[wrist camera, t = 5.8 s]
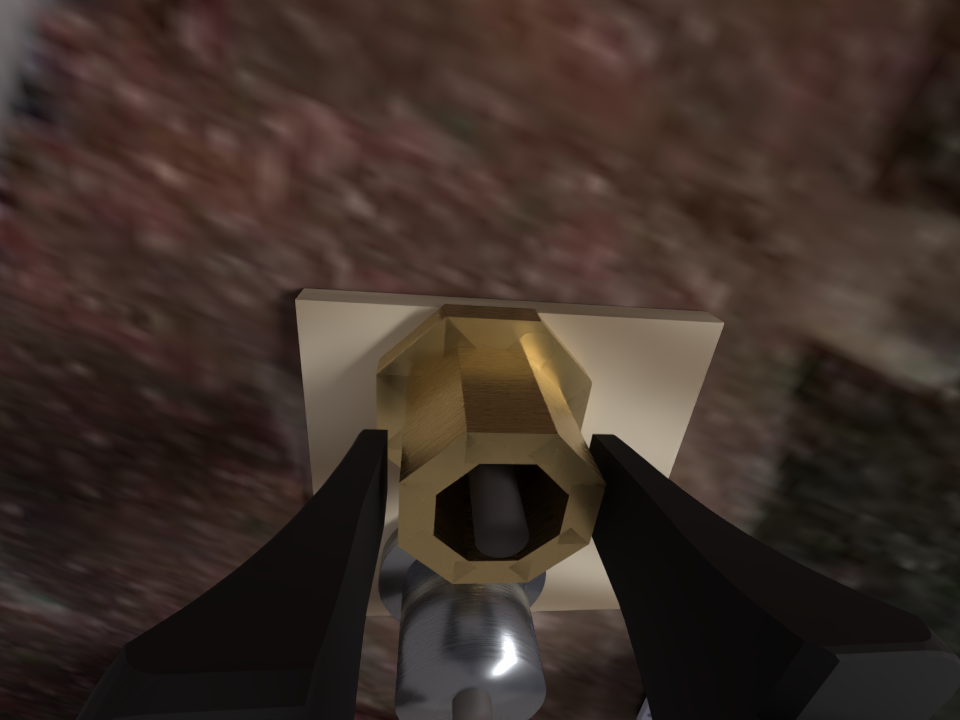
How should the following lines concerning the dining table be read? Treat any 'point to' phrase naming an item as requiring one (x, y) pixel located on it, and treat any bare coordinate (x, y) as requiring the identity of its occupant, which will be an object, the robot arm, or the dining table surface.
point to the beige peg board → (493, 487)
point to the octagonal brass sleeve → (488, 438)
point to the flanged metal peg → (460, 640)
